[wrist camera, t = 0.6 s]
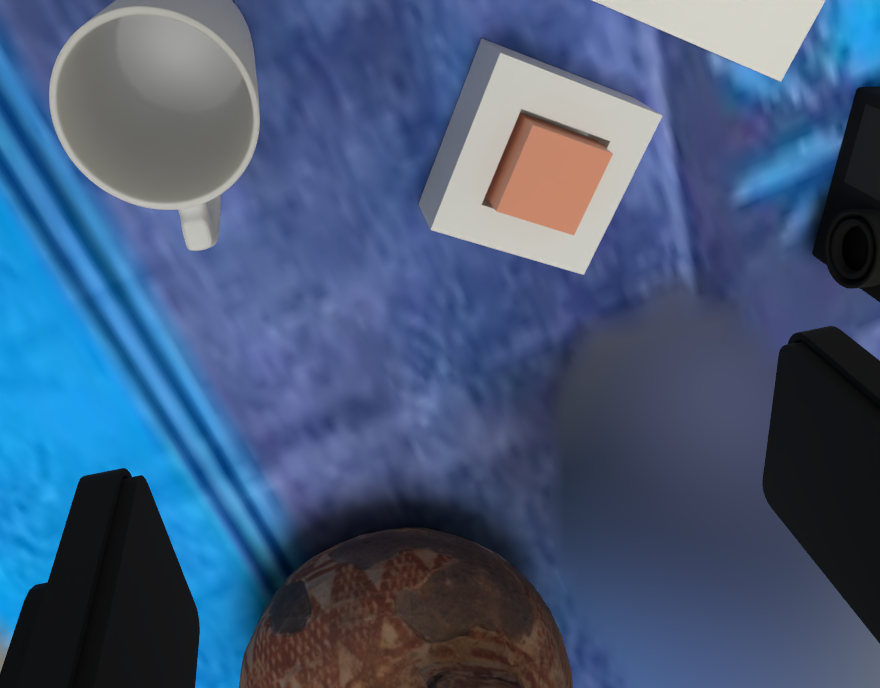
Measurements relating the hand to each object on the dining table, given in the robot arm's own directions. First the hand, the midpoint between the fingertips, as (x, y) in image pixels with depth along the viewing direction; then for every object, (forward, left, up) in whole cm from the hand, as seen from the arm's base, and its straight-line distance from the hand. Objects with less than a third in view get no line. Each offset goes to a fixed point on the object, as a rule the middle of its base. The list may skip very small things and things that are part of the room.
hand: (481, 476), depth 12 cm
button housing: (+12, -1, -32) cm, 34 cm away
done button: (+12, -1, -29) cm, 31 cm away
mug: (-5, -3, -32) cm, 33 cm away
